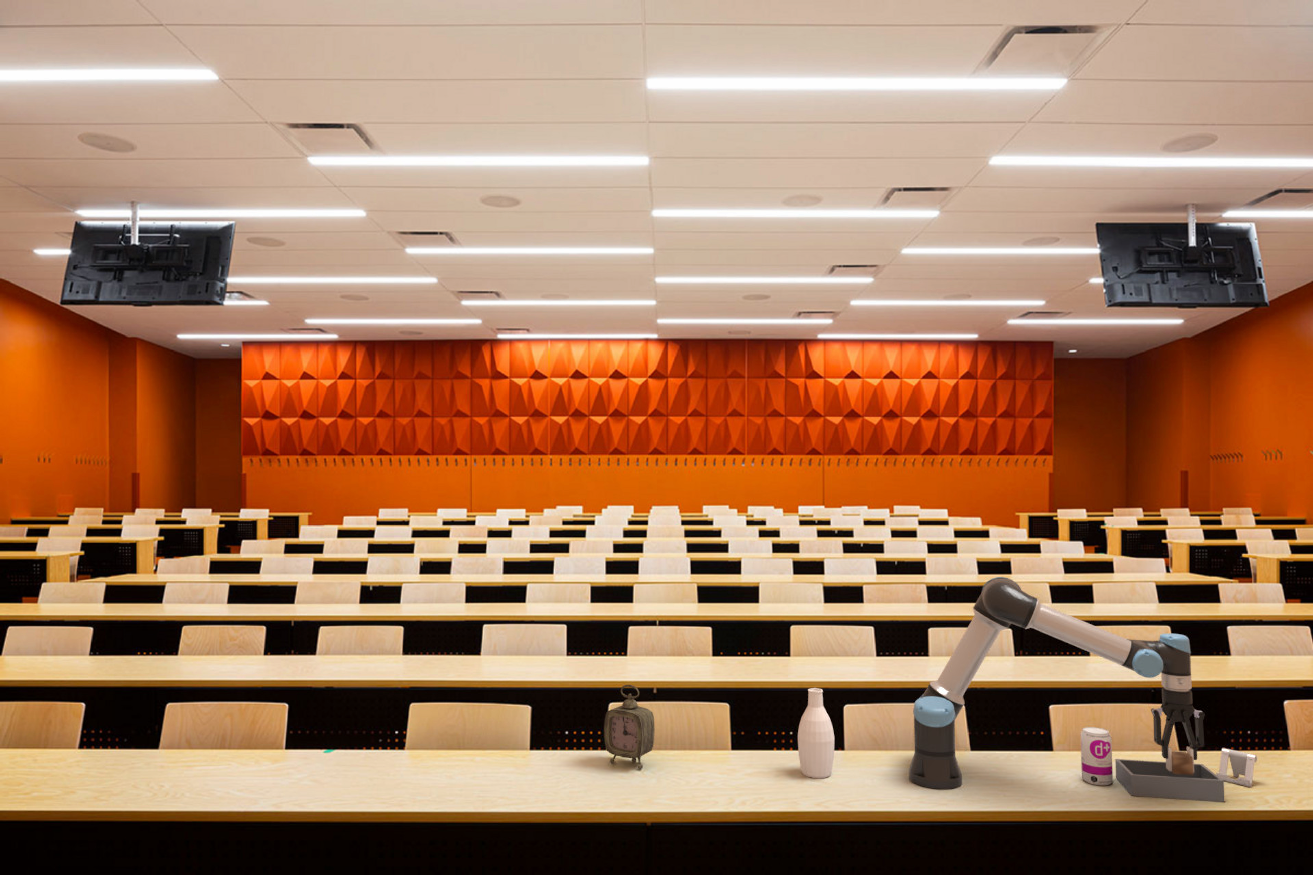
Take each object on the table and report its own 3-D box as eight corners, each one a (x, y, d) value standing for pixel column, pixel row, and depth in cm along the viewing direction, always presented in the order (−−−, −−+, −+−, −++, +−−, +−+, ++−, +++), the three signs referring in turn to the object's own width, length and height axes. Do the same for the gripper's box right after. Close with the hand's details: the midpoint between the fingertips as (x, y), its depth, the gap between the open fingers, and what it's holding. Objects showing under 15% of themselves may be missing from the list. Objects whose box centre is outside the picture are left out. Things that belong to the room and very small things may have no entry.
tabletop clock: (603, 764, 274) (603, 684, 275) (619, 756, 281) (619, 679, 283) (642, 772, 266) (641, 690, 267) (657, 764, 274) (657, 684, 275)
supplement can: (1116, 787, 252) (1115, 734, 253) (1086, 785, 254) (1084, 733, 254) (1107, 777, 260) (1106, 727, 261) (1078, 775, 261) (1077, 725, 262)
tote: (1131, 795, 245) (1131, 774, 245) (1115, 778, 259) (1115, 758, 259) (1224, 801, 240) (1223, 780, 240) (1203, 784, 254) (1202, 764, 254)
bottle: (820, 765, 272) (819, 684, 273) (842, 776, 262) (841, 691, 263) (790, 770, 267) (790, 687, 268) (812, 782, 257) (811, 695, 258)
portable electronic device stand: (1216, 780, 258) (1215, 751, 258) (1226, 774, 263) (1225, 746, 263) (1249, 788, 251) (1248, 758, 251) (1259, 782, 256) (1258, 753, 256)
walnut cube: (1174, 773, 247) (1173, 756, 247) (1167, 768, 251) (1166, 750, 252) (1193, 774, 246) (1192, 756, 246) (1186, 769, 250) (1185, 751, 251)
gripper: (1147, 690, 248) (1150, 772, 247) (1216, 692, 244) (1220, 776, 243) (1138, 684, 255) (1141, 764, 254) (1206, 686, 252) (1209, 767, 250)
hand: (1180, 770), depth 249 cm, fingers closed on walnut cube, 5 cm apart
